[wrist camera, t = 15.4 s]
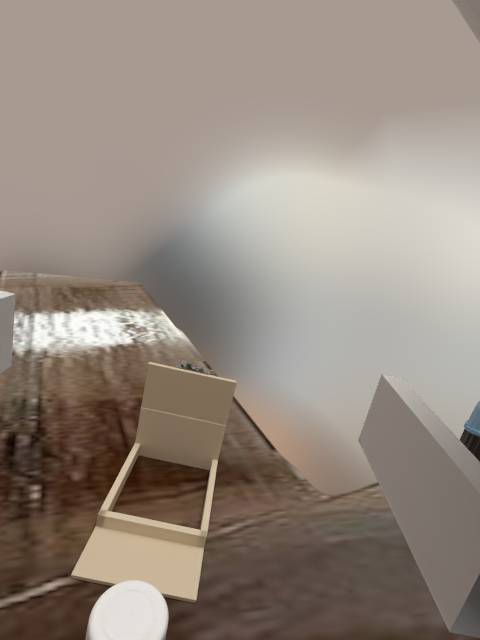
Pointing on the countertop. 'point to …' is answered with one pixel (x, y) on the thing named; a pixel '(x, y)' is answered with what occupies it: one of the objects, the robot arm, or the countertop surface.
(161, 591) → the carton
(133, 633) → the spice jar
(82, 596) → the countertop surface
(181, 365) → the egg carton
